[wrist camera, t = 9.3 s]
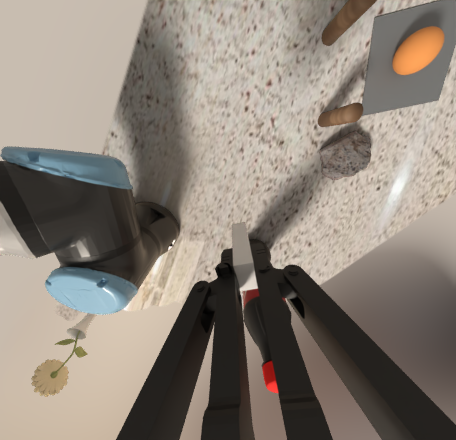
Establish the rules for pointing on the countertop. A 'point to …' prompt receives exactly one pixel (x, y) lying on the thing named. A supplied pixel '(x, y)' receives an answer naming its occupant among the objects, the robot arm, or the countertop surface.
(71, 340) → the flower in vase
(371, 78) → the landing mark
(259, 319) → the cola bottle
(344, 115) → the post
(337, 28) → the post
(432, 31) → the ball
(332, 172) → the rock
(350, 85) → the countertop surface
